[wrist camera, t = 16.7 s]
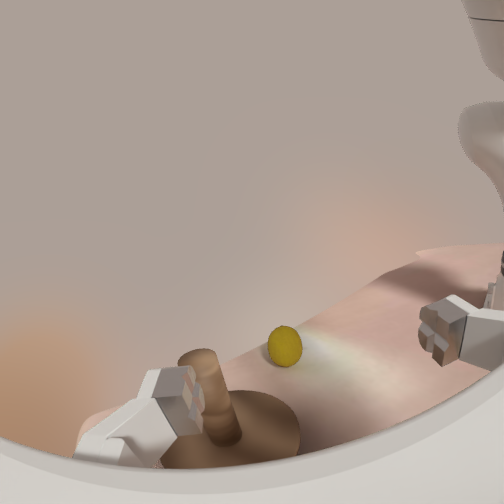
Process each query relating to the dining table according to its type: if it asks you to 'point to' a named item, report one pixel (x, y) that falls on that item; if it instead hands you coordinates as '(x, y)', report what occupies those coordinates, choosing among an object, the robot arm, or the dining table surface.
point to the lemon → (284, 346)
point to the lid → (232, 424)
